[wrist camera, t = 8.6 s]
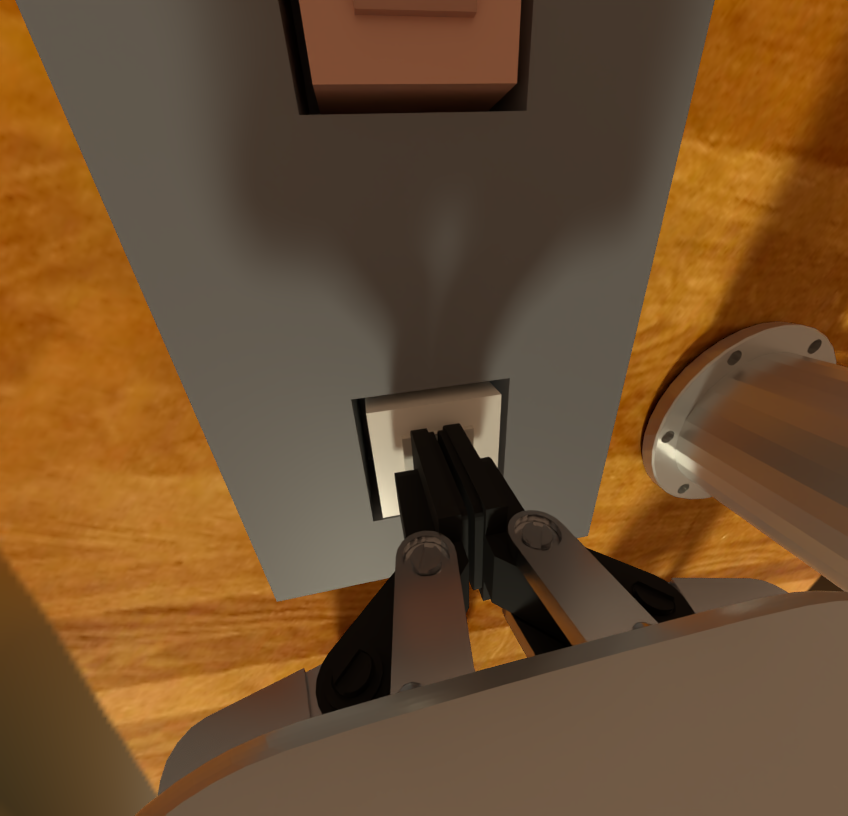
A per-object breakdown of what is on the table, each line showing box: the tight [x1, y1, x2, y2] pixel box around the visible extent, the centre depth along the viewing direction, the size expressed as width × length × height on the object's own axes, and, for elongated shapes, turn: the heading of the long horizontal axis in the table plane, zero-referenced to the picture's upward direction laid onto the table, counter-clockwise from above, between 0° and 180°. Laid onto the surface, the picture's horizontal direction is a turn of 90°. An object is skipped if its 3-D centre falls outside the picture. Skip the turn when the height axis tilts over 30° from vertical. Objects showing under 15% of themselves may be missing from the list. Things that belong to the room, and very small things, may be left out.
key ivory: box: [365, 381, 501, 518], centre depth 13 cm, size 4×4×3 cm
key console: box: [16, 0, 715, 601], centre depth 12 cm, size 14×24×6 cm, turn 4°
